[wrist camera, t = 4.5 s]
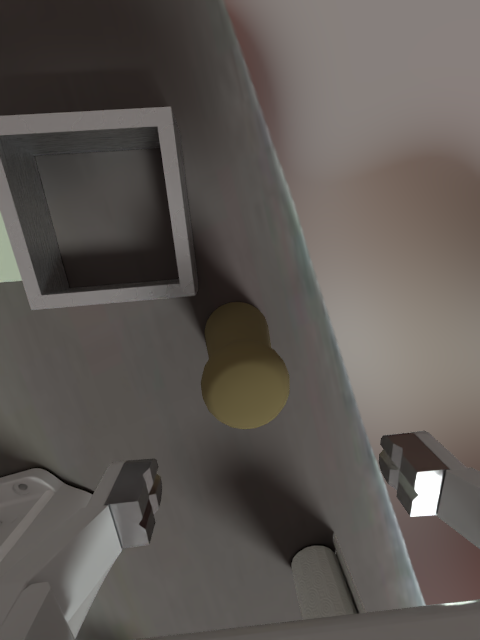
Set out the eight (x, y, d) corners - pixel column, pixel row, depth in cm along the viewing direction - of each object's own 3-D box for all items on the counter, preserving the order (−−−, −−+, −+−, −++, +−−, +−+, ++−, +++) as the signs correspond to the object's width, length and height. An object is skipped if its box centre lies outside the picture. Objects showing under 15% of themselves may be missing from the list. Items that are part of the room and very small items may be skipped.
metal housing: (60, 300, 22) (31, 310, 19) (16, 141, 19) (-30, 117, 15) (199, 288, 22) (195, 295, 19) (179, 131, 19) (171, 106, 16)
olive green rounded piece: (225, 373, 25) (228, 464, 14) (191, 322, 23) (166, 384, 13) (279, 342, 24) (323, 414, 14) (248, 289, 23) (271, 324, 12)
